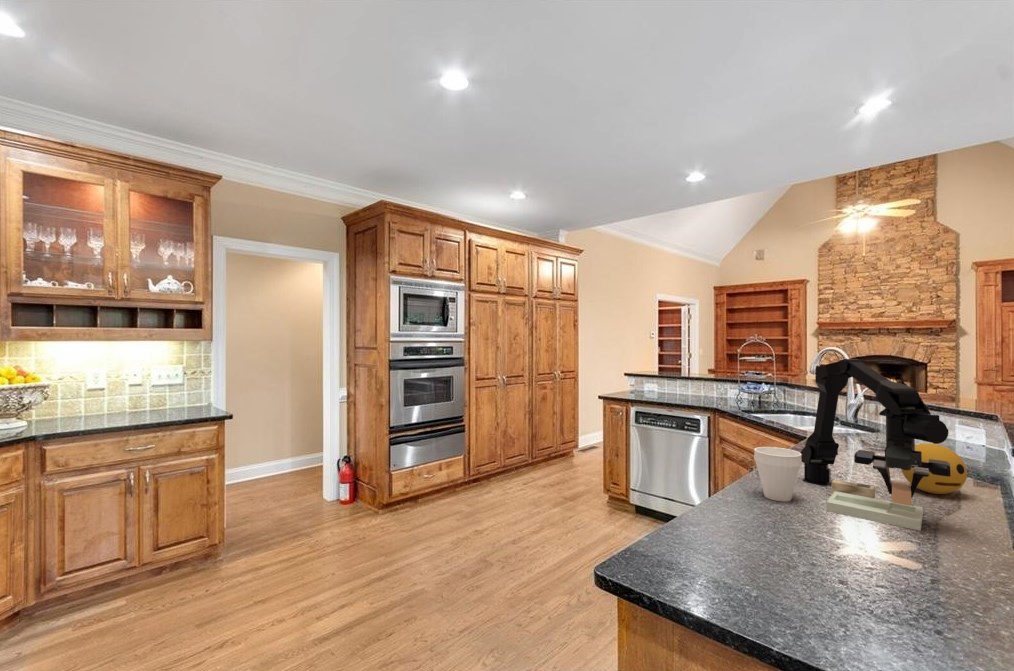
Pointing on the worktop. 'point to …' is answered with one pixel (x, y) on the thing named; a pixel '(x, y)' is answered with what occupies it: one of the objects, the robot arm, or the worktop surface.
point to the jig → (876, 510)
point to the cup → (777, 471)
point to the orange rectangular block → (901, 493)
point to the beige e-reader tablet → (853, 488)
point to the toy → (937, 482)
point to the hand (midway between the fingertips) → (900, 495)
